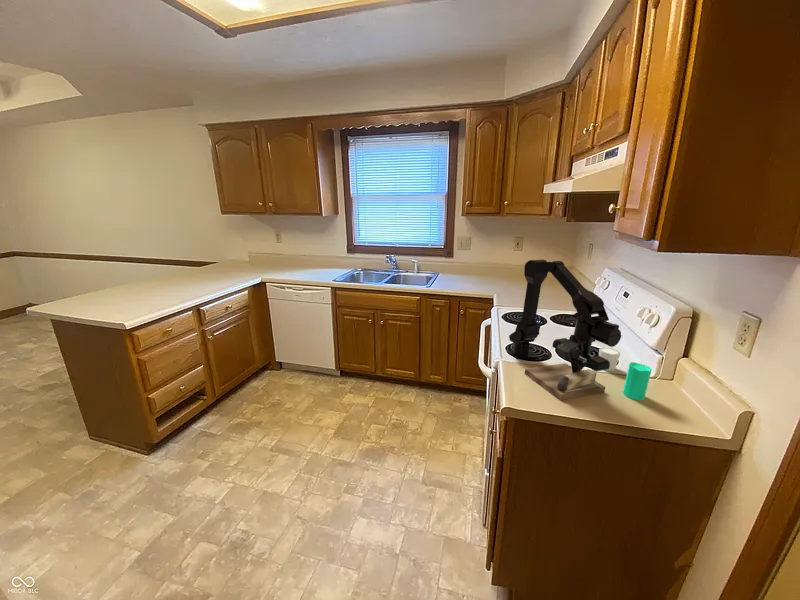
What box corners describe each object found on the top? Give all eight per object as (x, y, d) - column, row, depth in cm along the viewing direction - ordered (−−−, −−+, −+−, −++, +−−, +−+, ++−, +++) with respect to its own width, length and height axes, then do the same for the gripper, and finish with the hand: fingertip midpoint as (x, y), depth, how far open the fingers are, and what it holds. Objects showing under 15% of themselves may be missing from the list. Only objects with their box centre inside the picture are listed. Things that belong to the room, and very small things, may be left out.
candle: (618, 392, 116) (626, 359, 113) (630, 389, 118) (638, 356, 115) (636, 401, 111) (644, 367, 107) (648, 398, 113) (657, 364, 110)
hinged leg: (562, 391, 111) (564, 380, 110) (555, 386, 114) (556, 376, 113) (594, 382, 117) (596, 372, 116) (586, 378, 120) (588, 368, 119)
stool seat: (524, 373, 127) (525, 368, 126) (564, 367, 132) (565, 362, 132) (560, 400, 110) (561, 394, 110) (604, 392, 116) (605, 386, 115)
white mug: (619, 372, 129) (623, 355, 128) (599, 370, 131) (603, 353, 129) (612, 364, 136) (616, 348, 134) (593, 362, 137) (596, 346, 135)
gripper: (543, 326, 119) (536, 366, 124) (588, 349, 103) (578, 394, 108) (568, 322, 123) (560, 362, 128) (616, 344, 107) (605, 389, 112)
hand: (574, 375), depth 119 cm, fingers closed
